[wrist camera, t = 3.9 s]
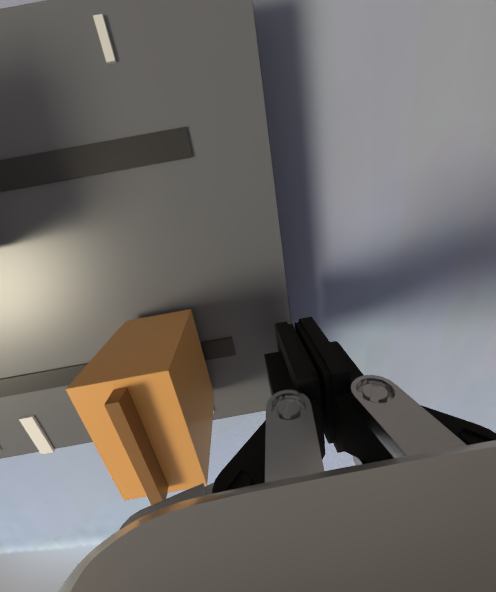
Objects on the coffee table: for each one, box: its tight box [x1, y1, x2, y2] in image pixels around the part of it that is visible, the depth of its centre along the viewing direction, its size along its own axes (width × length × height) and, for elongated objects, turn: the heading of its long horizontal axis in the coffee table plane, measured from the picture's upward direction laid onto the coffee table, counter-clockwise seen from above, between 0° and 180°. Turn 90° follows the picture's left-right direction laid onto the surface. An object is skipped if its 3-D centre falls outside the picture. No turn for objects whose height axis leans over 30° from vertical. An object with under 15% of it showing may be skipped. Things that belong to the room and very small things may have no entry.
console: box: [0, 0, 291, 459], centre depth 12 cm, size 22×18×2 cm
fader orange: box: [66, 309, 214, 505], centre depth 10 cm, size 3×5×5 cm, turn 9°
